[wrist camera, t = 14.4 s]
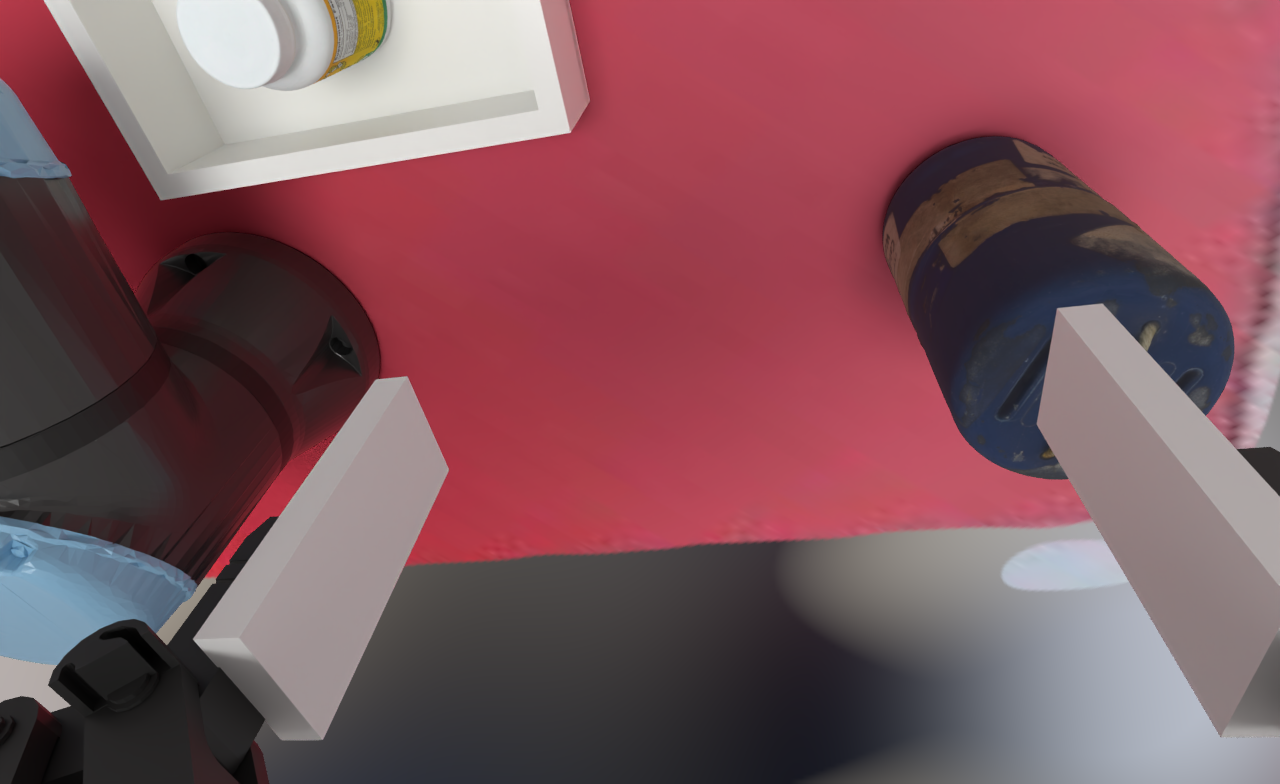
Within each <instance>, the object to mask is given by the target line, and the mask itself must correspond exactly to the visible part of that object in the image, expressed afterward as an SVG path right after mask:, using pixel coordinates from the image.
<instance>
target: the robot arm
mask: <svg viewBox="0 0 1280 784" xmlns="http://www.w3.org/2000/svg"><path fill="white" fill-rule="evenodd" d="M70 176H72V175H71V172H70V170H69V168H68V167H67V165H66V164H64V163H62V162H60V161H58V159H57V157H56V156H55V154H54V153H53V151H52V150H51V148H50V147H49V145H48V144H47V142H46V140H45V139H44V137H43V136H42V134H41V133H40V131H39V130H38V128H37V127H36V125H35V123H34V122H33V120H32V119H31V117H30V116H29V114H28V113H27V111H26V110H25V108H24V106H23V105H22V103H21V102H20V100H19V98H18V97H17V95H16V94H15V93H14V91H13V90H12V89H11V88H10V87H9V86H8V85H7V84H6V83H5V82H4V81H3V80H2V79H1V78H0V656H4V657H9V658H13V659H18V660H23V661H29V662H35V663H41V664H51V665H57V666H56V668H55V669H54V670H53V673H52V676H51V678H50V681H49V684H48V686H49V687H51V688H52V689H53V690H54V691H55V692H56V693H57V694H59V695H60V696H61V697H62V698H63V699H64V700H65V701H67V702H68V703H69V704H70V705H71V706H70V707H67V708H63V709H60V710H57V711H54V712H51V713H50V712H49V711H48V710H47V709H46V708H45V707H43V706H42V705H41V704H40V703H39V702H37V701H36V700H35V699H34V698H30V697H23V696H22V697H21V696H20V697H17V698H13V699H9V700H5V701H3V702H1V703H0V784H269V780H268V775H267V771H266V767H265V762H264V757H263V753H262V751H261V749H260V748H259V746H258V744H257V743H256V742H255V741H254V739H255V737H256V735H257V733H258V732H259V730H260V728H261V726H262V724H263V722H264V721H265V722H266V723H267V724H268V725H269V727H270V728H271V729H272V730H273V731H274V732H275V733H276V734H277V736H278V737H279V738H280V739H281V740H323V738H324V736H325V734H326V732H327V730H328V728H329V725H330V723H331V721H332V719H333V717H334V715H335V713H336V711H337V708H338V706H339V704H340V702H341V700H342V698H343V696H344V693H345V691H346V689H347V687H348V685H349V683H350V681H351V679H352V676H353V674H354V672H355V670H356V668H357V666H358V664H359V661H360V659H361V657H362V655H363V653H364V651H365V648H366V646H367V644H368V642H369V640H370V638H371V636H372V634H373V632H374V629H375V627H376V625H377V623H378V621H379V619H380V617H381V614H382V612H383V610H384V608H385V606H386V604H387V601H388V600H389V597H390V595H391V593H392V591H393V589H394V587H395V584H396V582H397V580H398V578H399V576H400V574H401V572H402V569H403V567H404V565H405V563H406V561H407V559H408V557H409V555H410V553H411V550H412V548H413V546H414V544H415V542H416V540H417V538H418V535H419V533H420V531H421V529H422V527H423V525H424V523H425V520H426V518H427V516H428V514H429V512H430V510H431V508H432V506H433V503H434V501H435V499H436V497H437V495H438V493H439V491H440V488H441V486H442V484H443V482H444V480H445V478H446V476H447V473H448V471H449V469H448V466H447V464H446V462H445V460H444V457H443V455H442V453H441V451H440V448H439V446H438V444H437V442H436V439H435V437H434V435H433V433H432V430H431V428H430V426H429V424H428V421H427V419H426V417H425V415H424V412H423V410H422V408H421V406H420V403H419V401H418V399H417V397H416V394H415V392H414V390H413V388H412V385H411V383H410V381H409V379H408V376H405V377H396V378H386V379H378V377H379V370H380V355H379V348H378V343H377V340H376V336H375V334H374V331H373V328H372V326H371V324H370V322H369V320H368V318H367V316H366V314H365V313H364V311H363V309H362V308H361V306H360V305H359V303H358V302H357V301H356V299H355V298H354V297H353V296H352V294H351V293H350V292H349V291H348V290H347V289H346V287H345V286H344V285H343V284H342V283H341V282H340V281H339V280H338V279H337V278H335V277H334V276H333V275H332V274H331V273H330V272H329V271H327V270H326V269H325V268H324V267H322V266H321V265H319V264H318V263H317V262H315V261H314V260H312V259H311V258H309V257H307V256H306V255H304V254H302V253H301V252H299V251H297V250H295V249H293V248H291V247H289V246H287V245H284V244H282V243H279V242H277V241H274V240H271V239H268V238H264V237H261V236H256V235H252V234H245V233H235V232H222V233H212V234H207V235H203V236H199V237H197V238H194V239H192V240H190V241H187V242H186V243H184V244H182V245H181V246H179V247H178V248H176V249H175V250H173V251H172V252H170V253H169V254H167V255H166V256H164V257H163V258H162V259H160V260H159V261H158V262H157V263H156V264H155V265H154V266H153V267H152V268H151V269H150V270H149V271H148V273H147V274H146V275H145V277H144V278H143V280H142V282H141V283H140V285H139V287H138V289H137V291H136V293H135V294H134V293H133V292H132V290H131V288H130V286H129V285H128V283H127V281H126V279H125V278H124V276H123V274H122V272H121V271H120V269H119V267H118V265H117V264H116V262H115V260H114V258H113V257H112V255H111V253H110V251H109V249H108V248H107V246H106V244H105V242H104V241H103V239H102V237H101V235H100V234H99V232H98V230H97V228H96V227H95V225H94V223H93V221H92V219H91V218H90V216H89V214H88V212H87V210H86V208H85V207H84V205H83V203H82V201H81V199H80V197H79V196H78V194H77V192H76V190H75V188H74V186H73V184H72V183H71V181H70V179H69V177H70ZM1037 426H1038V428H1039V429H1040V431H1041V433H1042V434H1043V436H1044V438H1045V439H1046V441H1047V443H1048V445H1049V446H1050V448H1051V450H1052V451H1053V453H1054V455H1055V456H1056V458H1057V460H1058V462H1059V463H1060V465H1061V467H1062V468H1063V470H1064V472H1065V473H1066V475H1067V477H1068V479H1069V480H1070V482H1071V484H1072V485H1073V487H1074V489H1075V490H1076V492H1077V494H1078V496H1079V497H1080V499H1081V501H1082V502H1083V504H1084V506H1085V507H1086V509H1087V511H1088V513H1089V514H1090V516H1091V518H1092V519H1093V521H1094V523H1095V524H1096V526H1097V528H1098V530H1099V531H1100V533H1101V535H1102V536H1103V538H1104V540H1105V542H1106V543H1107V545H1108V547H1109V548H1110V550H1111V552H1112V553H1113V555H1114V557H1115V559H1116V560H1117V562H1118V564H1119V565H1120V567H1121V569H1122V570H1123V572H1124V574H1125V576H1126V577H1127V579H1128V581H1129V582H1130V584H1131V586H1132V587H1133V589H1134V591H1135V592H1136V594H1137V596H1138V597H1139V599H1140V601H1141V603H1142V604H1143V606H1144V608H1145V609H1146V611H1147V613H1148V614H1149V616H1150V618H1151V620H1152V621H1153V623H1154V625H1155V626H1156V628H1157V630H1158V632H1159V633H1160V635H1161V637H1162V638H1163V640H1164V642H1165V643H1166V645H1167V647H1168V648H1169V650H1170V652H1171V654H1172V655H1173V657H1174V659H1175V661H1176V662H1177V664H1178V665H1179V667H1180V669H1181V671H1182V672H1183V674H1184V676H1185V677H1186V679H1187V681H1188V683H1189V684H1190V686H1191V688H1192V689H1193V691H1194V693H1195V695H1196V696H1197V698H1198V700H1199V701H1200V703H1201V705H1202V706H1203V708H1204V710H1205V712H1206V713H1207V715H1208V716H1209V718H1210V720H1211V722H1212V723H1213V725H1214V727H1215V728H1216V730H1217V732H1218V734H1219V735H1220V737H1280V452H1279V451H1277V450H1275V449H1273V448H1271V447H1263V448H1248V449H1236V448H1235V447H1234V446H1233V445H1232V444H1231V443H1230V442H1229V441H1228V440H1227V439H1226V438H1225V437H1224V435H1223V434H1222V433H1221V432H1220V431H1219V430H1218V429H1217V428H1216V427H1215V426H1214V425H1213V423H1212V422H1211V421H1210V420H1209V419H1208V418H1207V417H1206V416H1205V415H1204V414H1203V413H1202V411H1201V410H1200V409H1199V408H1198V407H1197V406H1196V405H1195V404H1194V403H1193V402H1192V401H1191V399H1190V398H1189V397H1188V396H1187V395H1186V394H1185V393H1184V392H1183V391H1182V390H1181V389H1180V387H1179V386H1178V385H1177V384H1176V383H1175V382H1174V381H1173V380H1172V379H1171V378H1170V377H1169V375H1168V374H1167V373H1166V372H1165V371H1164V370H1163V369H1162V368H1161V367H1160V366H1159V365H1158V364H1157V362H1156V361H1155V360H1154V359H1153V358H1152V357H1151V356H1150V355H1149V354H1148V353H1147V352H1146V350H1145V349H1144V348H1143V347H1142V346H1141V345H1140V344H1139V343H1138V342H1137V341H1136V340H1135V338H1134V337H1133V336H1132V335H1131V334H1130V333H1129V332H1128V331H1127V330H1126V329H1125V328H1124V326H1123V325H1122V324H1121V323H1120V322H1119V321H1118V320H1117V319H1116V318H1115V317H1114V316H1113V314H1112V313H1111V312H1110V311H1109V310H1108V309H1107V308H1106V307H1105V306H1104V305H1103V304H1093V305H1083V306H1074V307H1064V308H1057V312H1056V318H1055V323H1054V329H1053V335H1052V340H1051V346H1050V352H1049V357H1048V363H1047V369H1046V374H1045V380H1044V386H1043V391H1042V397H1041V403H1040V408H1039V414H1038V420H1037ZM339 430H340V431H339ZM338 431H339V432H338ZM336 432H338V434H337V435H336V437H335V438H334V439H333V441H332V442H331V444H330V445H329V447H328V448H327V449H326V451H325V452H324V454H323V455H322V457H321V458H320V459H319V461H318V462H317V464H316V465H315V466H314V468H313V469H312V471H311V472H310V474H309V475H308V476H307V478H306V479H305V481H304V482H303V484H302V485H301V486H300V488H299V489H298V491H297V492H296V493H295V495H294V496H293V498H292V499H291V501H290V502H289V503H288V505H287V506H286V508H285V509H284V510H283V512H282V513H281V515H280V516H278V517H270V518H269V519H267V520H266V521H265V522H264V523H263V524H262V525H260V526H259V527H258V528H257V529H256V530H255V531H253V532H252V533H251V534H250V535H249V536H248V537H246V539H245V540H244V541H243V543H242V544H241V545H240V547H239V548H238V550H237V551H236V552H235V554H234V555H233V556H232V558H231V559H230V560H229V561H230V564H229V565H226V566H225V567H224V569H223V570H222V571H221V573H220V574H219V575H218V577H217V578H216V584H212V585H211V587H210V588H209V589H208V590H207V592H206V593H205V595H204V596H203V597H202V599H201V600H200V601H199V603H198V604H197V606H196V607H195V608H194V610H193V611H192V612H191V614H190V615H189V617H188V618H187V619H186V621H185V622H184V623H183V625H182V626H181V627H180V629H179V630H178V632H177V633H176V634H175V636H174V637H173V638H172V640H171V641H170V642H169V644H168V645H166V644H165V643H164V642H163V641H162V640H161V639H160V638H159V637H158V636H157V635H156V633H157V632H158V631H159V629H160V628H161V627H162V626H163V625H164V624H165V622H166V621H167V620H168V619H169V618H170V617H171V615H172V614H173V613H174V612H175V611H176V610H177V608H178V607H179V606H180V605H181V604H182V603H183V602H185V601H187V600H188V599H190V598H191V596H192V595H193V594H194V592H195V591H196V588H197V587H198V585H199V584H200V583H201V581H202V580H203V578H204V577H205V576H206V574H207V573H208V571H209V570H210V569H211V567H212V566H213V565H214V563H215V562H216V560H217V559H218V558H219V556H220V555H221V553H222V552H223V551H224V549H225V548H226V547H227V545H228V544H229V542H230V541H231V540H232V538H233V537H234V535H235V534H236V533H237V531H238V530H239V529H240V527H241V526H242V524H243V523H244V522H245V520H246V519H247V517H248V516H249V515H250V513H251V512H252V511H253V509H254V508H255V506H256V505H257V504H258V502H259V501H260V499H261V498H262V497H263V495H264V494H265V492H266V491H267V490H268V488H269V487H270V486H271V484H272V483H273V481H274V480H275V479H276V477H277V476H278V475H279V473H280V472H281V471H282V469H283V468H284V467H285V465H286V464H287V463H288V462H289V461H290V460H292V459H293V458H295V457H297V456H298V455H300V454H302V453H303V452H305V451H307V450H308V449H310V448H312V447H313V446H315V445H317V444H318V443H320V442H321V441H323V440H325V439H326V438H328V437H330V436H331V435H333V434H335V433H336Z"/></svg>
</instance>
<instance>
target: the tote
mask: <svg viewBox="0 0 1280 784" xmlns="http://www.w3.org/2000/svg"><path fill="white" fill-rule="evenodd" d="M44 2H45V3H46V5H47V7H48V9H49V10H50V12H51V14H52V15H53V17H54V19H55V20H56V22H57V24H58V26H59V27H60V29H61V31H62V32H63V34H64V36H65V38H66V39H67V41H68V43H69V44H70V46H71V48H72V50H73V51H74V53H75V55H76V56H77V58H78V60H79V62H80V63H81V65H82V67H83V68H84V70H85V72H86V73H87V75H88V77H89V79H90V80H91V82H92V84H93V85H94V87H95V89H96V91H97V92H98V94H99V96H100V97H101V99H102V101H103V103H104V104H105V106H106V108H107V109H108V111H109V113H110V114H111V116H112V118H113V120H114V121H115V123H116V125H117V126H118V128H119V130H120V132H121V133H122V135H123V137H124V138H125V140H126V142H127V144H128V145H129V147H130V149H131V150H132V152H133V154H134V156H135V157H136V159H137V161H138V162H139V164H140V166H141V167H142V169H143V171H144V173H145V174H146V176H147V178H148V179H149V181H150V183H151V185H152V186H153V188H154V190H155V191H156V193H157V195H158V197H159V198H160V200H167V199H173V198H179V197H185V196H191V195H197V194H203V193H209V192H215V191H221V190H227V189H234V188H240V187H246V186H252V185H258V184H264V183H270V182H276V181H282V180H288V179H294V178H300V177H306V176H312V175H318V174H324V173H330V172H336V171H342V170H348V169H355V168H361V167H367V166H373V165H379V164H385V163H391V162H397V161H403V160H409V159H415V158H421V157H427V156H433V155H439V154H445V153H451V152H457V151H463V150H470V149H476V148H482V147H488V146H494V145H500V144H506V143H512V142H518V141H524V140H530V139H536V138H542V137H548V136H554V135H560V134H566V133H571V131H572V130H573V128H574V126H575V125H576V123H577V122H578V120H579V118H580V117H581V115H582V113H583V112H584V110H585V109H586V107H587V105H588V104H589V102H590V97H589V92H588V88H587V83H586V78H585V73H584V69H583V64H582V59H581V54H580V49H579V45H578V40H577V35H576V30H575V26H574V21H573V16H572V11H571V7H570V2H569V0H389V2H390V10H391V22H390V29H389V33H388V36H387V38H386V40H385V42H384V43H383V45H382V46H381V47H380V48H379V49H378V50H377V51H376V52H375V53H373V54H372V55H371V56H369V57H367V58H366V59H364V60H362V61H360V62H358V63H357V64H354V65H352V66H350V67H348V68H346V69H343V70H342V71H340V72H338V73H336V74H334V75H332V76H329V77H327V78H325V79H323V80H321V81H319V82H317V83H314V84H312V85H310V86H307V87H305V88H302V89H298V90H293V91H280V90H274V89H269V88H266V87H263V86H261V87H258V88H254V89H239V88H235V87H231V86H228V85H226V84H224V83H222V82H220V81H218V80H216V79H215V78H213V77H212V76H210V75H209V74H208V73H207V72H206V71H204V70H203V69H202V68H201V67H200V66H199V64H198V63H197V62H196V61H195V60H194V59H193V57H192V56H191V54H190V53H189V51H188V49H187V48H186V46H185V44H184V42H183V40H182V37H181V35H180V32H179V28H178V24H177V17H176V6H177V0H44Z"/></svg>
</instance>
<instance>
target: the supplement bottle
mask: <svg viewBox="0 0 1280 784" xmlns="http://www.w3.org/2000/svg"><path fill="white" fill-rule="evenodd" d="M176 17H177V24H178V28H179V32H180V35H181V37H182V40H183V42H184V44H185V46H186V48H187V49H188V51H189V53H190V54H191V56H192V57H193V59H194V60H195V61H196V62H197V63H198V64H199V66H200V67H201V68H202V69H203V70H204V71H206V72H207V73H208V74H209V75H210V76H212V77H213V78H215V79H216V80H218V81H220V82H222V83H224V84H226V85H228V86H231V87H235V88H239V89H254V88H258V87H261V86H263V87H266V88H269V89H274V90H280V91H293V90H298V89H302V88H305V87H307V86H310V85H312V84H314V83H317V82H319V81H321V80H323V79H325V78H327V77H329V76H332V75H334V74H336V73H338V72H340V71H342V70H343V69H346V68H348V67H350V66H352V65H354V64H357V63H358V62H360V61H362V60H364V59H366V58H367V57H369V56H371V55H372V54H373V53H375V52H376V51H377V50H378V49H379V48H380V47H381V46H382V45H383V43H384V42H385V40H386V38H387V36H388V33H389V29H390V22H391V10H390V2H389V0H177V6H176Z"/></svg>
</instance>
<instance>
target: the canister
mask: <svg viewBox="0 0 1280 784" xmlns="http://www.w3.org/2000/svg"><path fill="white" fill-rule="evenodd" d="M883 249H884V254H885V258H886V261H887V264H888V266H889V269H890V271H891V273H892V275H893V277H894V279H895V282H896V285H897V287H898V290H899V293H900V295H901V297H902V300H903V302H904V305H905V308H906V311H907V314H908V316H909V318H910V320H911V322H912V324H913V326H914V328H915V330H916V332H917V336H918V339H919V341H920V343H921V345H922V347H923V348H924V350H925V352H926V355H927V357H928V360H929V362H930V365H931V367H932V369H933V372H934V374H935V377H936V379H937V381H938V384H939V386H940V389H941V391H942V393H943V396H944V398H945V400H946V403H947V405H948V407H949V409H950V411H951V414H952V416H953V419H954V421H955V423H956V425H957V427H958V429H959V431H960V433H961V434H962V436H963V437H964V438H965V440H966V441H967V442H968V443H969V444H970V445H971V446H972V447H973V448H974V449H975V450H976V451H977V452H979V453H980V454H981V455H982V456H984V457H985V458H987V459H988V460H990V461H991V462H993V463H995V464H997V465H999V466H1000V467H1003V468H1005V469H1008V470H1010V471H1013V472H1016V473H1019V474H1023V475H1026V476H1031V477H1037V478H1043V479H1068V477H1067V475H1066V473H1065V472H1064V470H1063V468H1062V467H1061V465H1060V463H1059V462H1058V460H1057V458H1056V456H1055V455H1054V453H1053V451H1052V450H1051V448H1050V446H1049V445H1048V443H1047V441H1046V439H1045V438H1044V436H1043V434H1042V433H1041V431H1040V429H1039V428H1038V426H1037V420H1038V414H1039V408H1040V403H1041V397H1042V391H1043V386H1044V380H1045V374H1046V369H1047V363H1048V357H1049V352H1050V346H1051V340H1052V335H1053V329H1054V323H1055V318H1056V312H1057V308H1064V307H1074V306H1083V305H1093V304H1103V305H1104V306H1105V307H1106V308H1107V309H1108V310H1109V311H1110V312H1111V313H1112V314H1113V316H1114V317H1115V318H1116V319H1117V320H1118V321H1119V322H1120V323H1121V324H1122V325H1123V326H1124V328H1125V329H1126V330H1127V331H1128V332H1129V333H1130V334H1131V335H1132V336H1133V337H1134V338H1135V340H1136V341H1137V342H1138V343H1139V344H1140V345H1141V346H1142V347H1143V348H1144V349H1145V350H1146V352H1147V353H1148V354H1149V355H1150V356H1151V357H1152V358H1153V359H1154V360H1155V361H1156V362H1157V364H1158V365H1159V366H1160V367H1161V368H1162V369H1163V370H1164V371H1165V372H1166V373H1167V374H1168V375H1169V377H1170V378H1171V379H1172V380H1173V381H1174V382H1175V383H1176V384H1177V385H1178V386H1179V387H1180V389H1181V390H1182V391H1183V392H1184V393H1185V394H1186V395H1187V396H1188V397H1189V398H1190V399H1191V401H1192V402H1193V403H1194V404H1195V405H1196V406H1197V407H1198V408H1199V409H1200V410H1201V411H1202V413H1203V414H1204V415H1205V416H1206V415H1207V414H1208V413H1209V412H1210V410H1211V409H1212V407H1213V406H1214V405H1215V403H1216V402H1217V400H1218V399H1219V397H1220V395H1221V393H1222V392H1223V390H1224V388H1225V386H1226V383H1227V381H1228V379H1229V376H1230V372H1231V368H1232V364H1233V359H1234V336H1233V331H1232V326H1231V323H1230V320H1229V318H1228V315H1227V313H1226V312H1225V310H1224V308H1223V306H1222V305H1221V303H1220V302H1219V301H1218V299H1217V298H1216V297H1215V296H1214V294H1213V293H1212V292H1211V291H1210V290H1209V289H1208V287H1207V286H1206V285H1205V284H1203V283H1202V282H1201V281H1200V280H1199V279H1198V278H1197V277H1196V276H1195V275H1194V274H1192V273H1191V272H1190V271H1189V270H1188V269H1186V268H1185V267H1184V266H1183V265H1182V264H1181V263H1179V262H1178V261H1177V260H1176V259H1175V258H1174V257H1173V256H1172V255H1171V254H1169V253H1168V252H1167V251H1166V250H1165V249H1164V248H1163V247H1161V246H1160V245H1159V244H1158V243H1157V242H1156V241H1154V240H1153V239H1152V238H1151V237H1150V236H1149V235H1148V234H1146V233H1145V232H1144V231H1143V230H1141V228H1140V227H1139V226H1138V225H1137V224H1135V223H1134V222H1132V221H1131V220H1130V219H1129V218H1128V217H1126V216H1125V215H1124V214H1123V213H1122V212H1121V211H1119V210H1118V209H1117V208H1116V207H1115V206H1113V205H1112V204H1110V203H1109V202H1107V201H1106V200H1104V199H1103V198H1101V197H1100V196H1099V195H1098V194H1097V193H1096V192H1095V191H1093V190H1092V189H1091V188H1090V187H1088V186H1087V185H1086V184H1085V183H1084V182H1083V181H1081V180H1080V179H1079V178H1078V177H1077V176H1075V175H1074V174H1073V173H1072V172H1071V171H1069V170H1068V169H1067V168H1066V167H1065V166H1064V165H1063V164H1061V163H1060V162H1059V161H1058V160H1056V159H1055V158H1054V157H1053V156H1051V155H1050V154H1049V153H1047V152H1046V151H1044V150H1043V149H1041V148H1040V147H1038V146H1036V145H1034V144H1031V143H1029V142H1026V141H1023V140H1020V139H1016V138H1011V137H1000V136H991V137H980V138H975V139H970V140H966V141H963V142H960V143H957V144H954V145H952V146H949V147H947V148H945V149H943V150H941V151H939V152H938V153H936V154H934V155H933V156H931V157H930V158H928V159H927V160H926V161H924V162H923V163H921V164H920V165H919V166H918V167H917V168H916V169H915V170H914V171H913V172H912V173H911V174H910V175H909V176H908V177H907V178H906V179H905V180H904V182H903V183H902V184H901V186H900V187H899V188H898V190H897V192H896V193H895V195H894V197H893V199H892V201H891V203H890V205H889V207H888V210H887V213H886V217H885V221H884V226H883Z"/></svg>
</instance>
